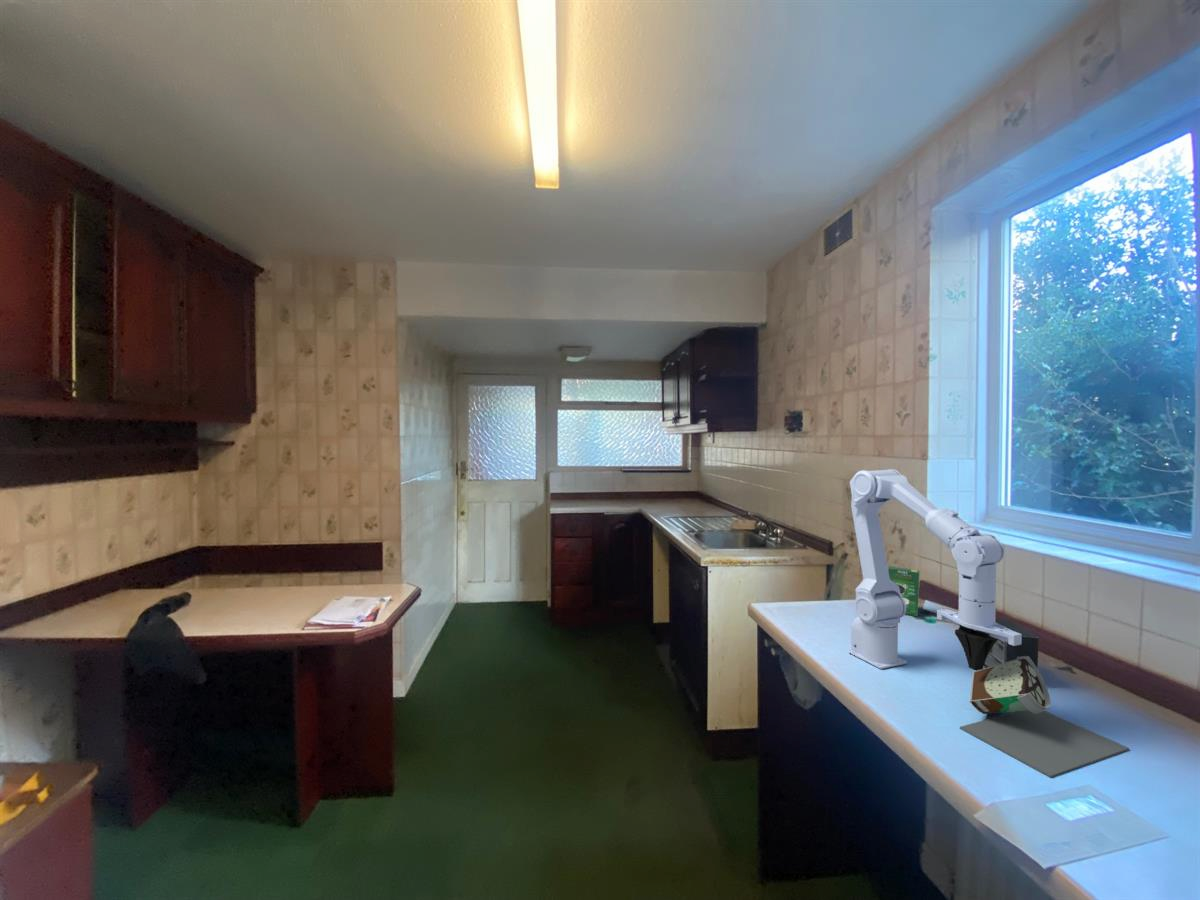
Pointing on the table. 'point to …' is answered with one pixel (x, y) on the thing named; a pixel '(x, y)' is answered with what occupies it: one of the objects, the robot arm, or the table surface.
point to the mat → (1044, 741)
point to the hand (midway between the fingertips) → (975, 668)
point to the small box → (1008, 652)
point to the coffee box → (907, 587)
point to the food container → (1010, 688)
